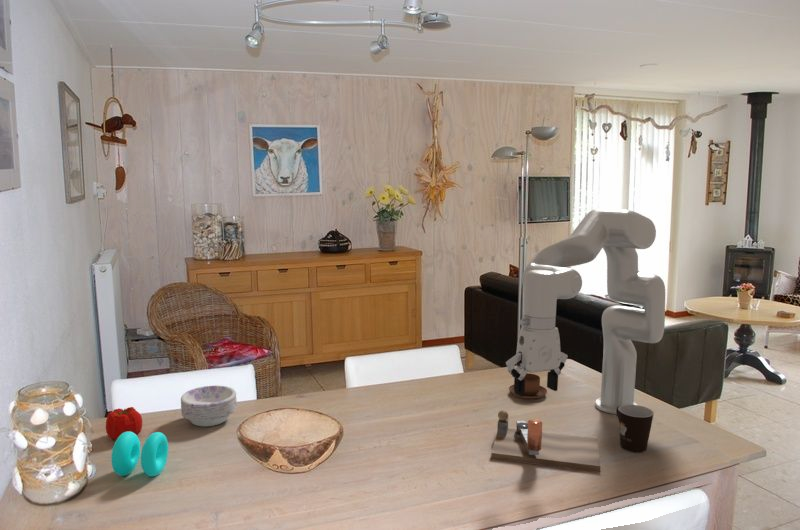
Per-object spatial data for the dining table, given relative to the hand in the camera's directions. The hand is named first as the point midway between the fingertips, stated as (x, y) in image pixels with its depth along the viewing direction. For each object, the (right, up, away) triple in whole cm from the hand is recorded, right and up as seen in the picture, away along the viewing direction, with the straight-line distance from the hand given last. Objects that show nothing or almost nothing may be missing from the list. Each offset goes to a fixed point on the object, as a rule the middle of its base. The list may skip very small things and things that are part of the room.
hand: (535, 391), depth 146 cm
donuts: (-94, -19, -2) cm, 96 cm away
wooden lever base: (+5, -17, +11) cm, 21 cm away
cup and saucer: (+9, -12, +50) cm, 53 cm away
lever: (0, -15, +10) cm, 18 cm away
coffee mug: (+29, -17, +14) cm, 36 cm away
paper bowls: (-87, -15, +29) cm, 93 cm away
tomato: (-107, -16, +18) cm, 110 cm away
